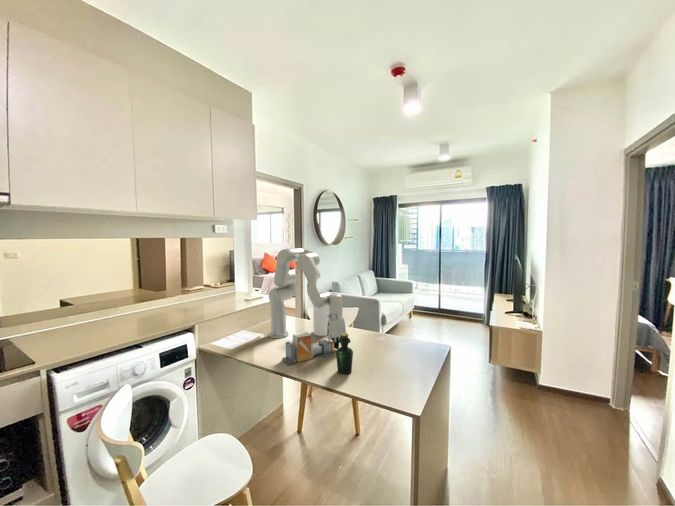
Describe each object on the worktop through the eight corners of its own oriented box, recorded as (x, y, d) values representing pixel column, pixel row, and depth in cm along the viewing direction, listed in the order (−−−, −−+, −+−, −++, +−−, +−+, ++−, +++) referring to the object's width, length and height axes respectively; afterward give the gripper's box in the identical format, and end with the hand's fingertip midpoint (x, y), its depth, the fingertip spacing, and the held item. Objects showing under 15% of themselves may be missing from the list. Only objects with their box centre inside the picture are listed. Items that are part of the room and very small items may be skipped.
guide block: (316, 351, 159) (316, 340, 158) (324, 349, 161) (324, 338, 161) (324, 356, 151) (324, 345, 151) (332, 354, 154) (332, 343, 153)
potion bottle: (340, 377, 129) (340, 338, 128) (333, 369, 137) (333, 333, 136) (356, 373, 132) (356, 335, 131) (348, 366, 140) (348, 330, 139)
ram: (306, 353, 154) (306, 343, 153) (329, 348, 161) (329, 338, 161) (311, 357, 149) (311, 346, 148) (334, 352, 156) (334, 341, 156)
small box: (297, 362, 144) (297, 337, 144) (292, 358, 150) (292, 334, 149) (311, 359, 148) (311, 334, 148) (306, 354, 154) (306, 331, 153)
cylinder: (328, 336, 182) (328, 298, 180) (310, 334, 185) (310, 297, 184) (334, 330, 194) (334, 294, 192) (317, 328, 197) (317, 293, 196)
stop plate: (282, 359, 148) (281, 343, 147) (289, 358, 150) (289, 341, 149) (287, 365, 141) (287, 348, 140) (295, 363, 143) (294, 346, 142)
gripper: (327, 319, 152) (327, 353, 153) (350, 315, 160) (350, 347, 161) (321, 316, 158) (321, 348, 159) (343, 312, 166) (343, 343, 167)
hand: (336, 347), depth 160 cm, fingers closed
